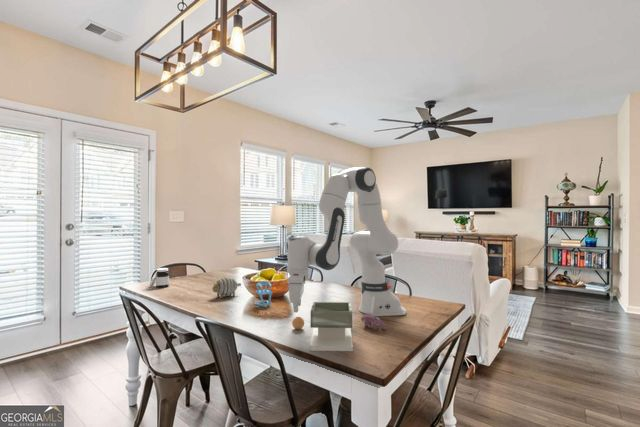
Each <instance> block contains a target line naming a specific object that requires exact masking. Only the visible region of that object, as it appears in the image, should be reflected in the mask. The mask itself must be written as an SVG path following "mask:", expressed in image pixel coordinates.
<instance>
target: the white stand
mask: <svg viewBox="0 0 640 427" xmlns="http://www.w3.org/2000/svg"><path fill="white" fill-rule="evenodd" d="M352 336H353V335H352V328H312V334H311V339H310V343H309V351H314V352H315V351H317V352H318V351H321V352H327V351H328V352H354V343H353V337H352Z"/></svg>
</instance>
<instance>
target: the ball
mask: <svg viewBox="0 0 640 427" xmlns="http://www.w3.org/2000/svg"><path fill="white" fill-rule="evenodd" d="M291 325H292V327H293V328H294V329H295V330H301V329H302V328H303V327H304V326H305V320H304V319H303V317H301V316H296V317H294V318H293V319H292V322H291Z"/></svg>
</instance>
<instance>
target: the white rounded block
mask: <svg viewBox="0 0 640 427" xmlns="http://www.w3.org/2000/svg"><path fill="white" fill-rule="evenodd" d="M154 285H155V287H156V288H158V289H161V288H168V287H170V272H169V267H161V268H156V274H155V275H154V276H152V278H151V279H150V282H149V286H150V287H154Z"/></svg>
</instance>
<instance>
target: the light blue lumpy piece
mask: <svg viewBox="0 0 640 427" xmlns="http://www.w3.org/2000/svg"><path fill="white" fill-rule="evenodd" d="M268 285H269V289H267V288H268ZM263 286H265V287H264V289H263ZM272 286H273V285H272V284H271V282H269V281H264V280H262V281H259V282H258V283H256V290H255V294H257V295H258V296H259V297H260V300H261V301H257V302H256V301H255V302H254V303H253V304H254V306H259V307H263V308H266V307H271V299H272V295H273V291H272ZM265 295H268V300H264V298H263V296H265ZM266 304H267V305H266Z"/></svg>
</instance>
